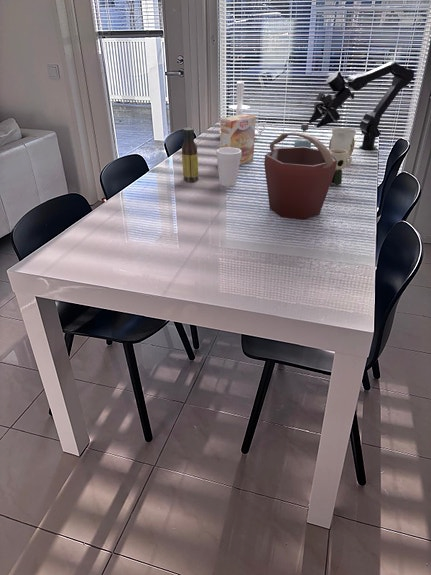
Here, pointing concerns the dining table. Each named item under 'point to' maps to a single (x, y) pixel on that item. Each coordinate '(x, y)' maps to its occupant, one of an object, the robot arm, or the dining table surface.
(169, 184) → the dining table surface
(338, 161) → the character mug
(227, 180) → the foam cup
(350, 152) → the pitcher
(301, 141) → the tiered round stand
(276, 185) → the bucket
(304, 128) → the knob
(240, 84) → the candlestick
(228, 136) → the coffeecake box
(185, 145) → the sauce bottle
